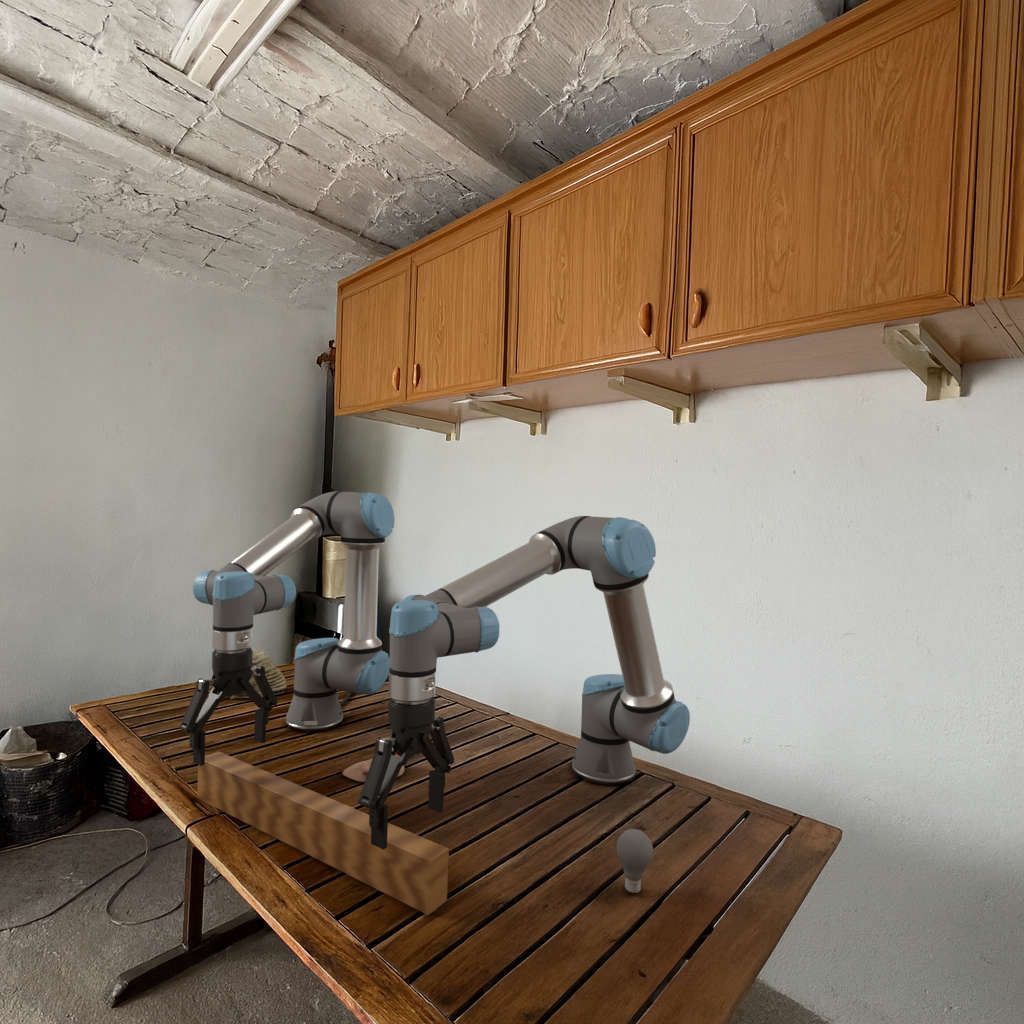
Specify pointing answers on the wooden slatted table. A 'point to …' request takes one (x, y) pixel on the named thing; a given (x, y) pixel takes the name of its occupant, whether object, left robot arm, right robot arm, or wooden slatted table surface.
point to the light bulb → (634, 857)
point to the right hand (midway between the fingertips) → (408, 827)
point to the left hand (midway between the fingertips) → (230, 752)
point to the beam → (327, 831)
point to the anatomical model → (362, 770)
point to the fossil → (271, 673)
